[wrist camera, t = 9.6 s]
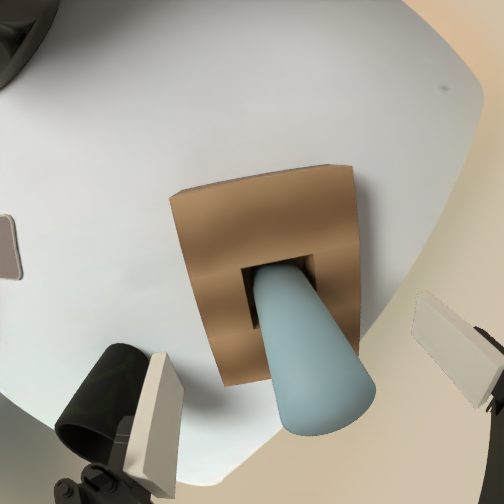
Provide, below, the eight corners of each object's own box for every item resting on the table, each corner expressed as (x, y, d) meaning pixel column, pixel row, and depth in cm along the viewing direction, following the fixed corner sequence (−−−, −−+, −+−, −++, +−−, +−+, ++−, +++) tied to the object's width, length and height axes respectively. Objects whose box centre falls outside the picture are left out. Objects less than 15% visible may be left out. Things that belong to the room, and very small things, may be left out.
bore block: (181, 190, 21) (168, 198, 17) (326, 164, 22) (352, 165, 17) (224, 351, 26) (224, 386, 22) (339, 326, 27) (358, 355, 22)
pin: (245, 256, 22) (274, 390, 9) (295, 246, 22) (380, 359, 9) (254, 300, 23) (285, 443, 10) (300, 291, 23) (370, 419, 10)
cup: (140, 328, 25) (102, 422, 14) (172, 382, 27) (157, 473, 16) (84, 341, 25) (38, 419, 14) (118, 389, 27) (91, 468, 16)
